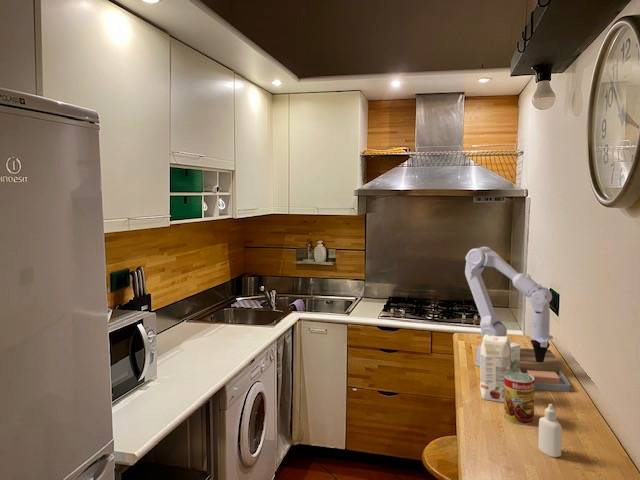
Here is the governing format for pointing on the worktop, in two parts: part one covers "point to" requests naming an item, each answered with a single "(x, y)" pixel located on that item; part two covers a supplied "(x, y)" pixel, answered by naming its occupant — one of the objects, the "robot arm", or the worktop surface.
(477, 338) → the worktop surface
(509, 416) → the canned food
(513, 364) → the syrup box
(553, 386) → the tray
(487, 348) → the juice carton
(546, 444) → the eye dropper bottle
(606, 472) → the worktop surface
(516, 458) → the worktop surface
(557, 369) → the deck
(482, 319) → the robot arm
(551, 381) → the tile
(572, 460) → the worktop surface
